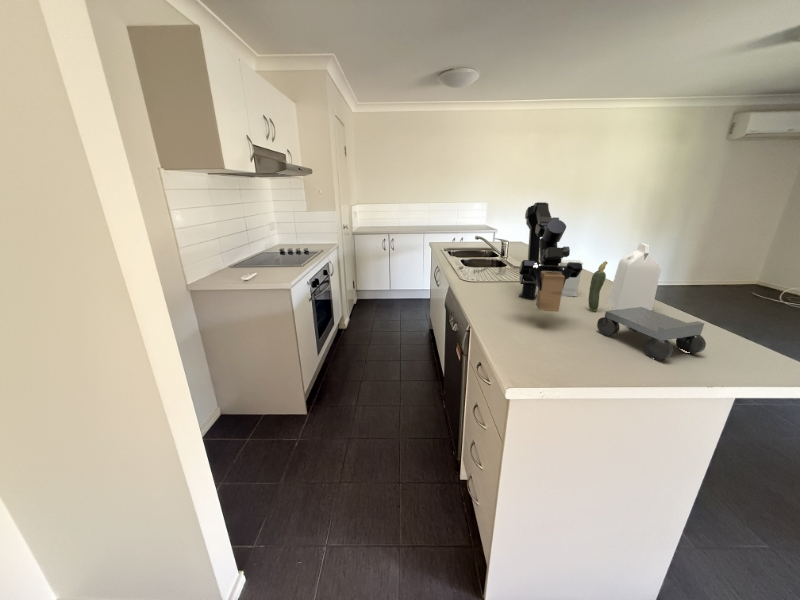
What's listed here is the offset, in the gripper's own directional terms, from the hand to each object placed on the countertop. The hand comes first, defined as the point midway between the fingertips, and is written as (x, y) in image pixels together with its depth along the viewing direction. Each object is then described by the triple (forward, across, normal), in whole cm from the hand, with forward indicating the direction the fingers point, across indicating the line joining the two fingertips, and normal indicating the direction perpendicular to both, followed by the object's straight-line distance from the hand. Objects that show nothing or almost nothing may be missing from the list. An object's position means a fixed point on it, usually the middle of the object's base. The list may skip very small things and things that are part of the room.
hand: (550, 290), depth 104 cm
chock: (+4, 0, +6) cm, 7 cm away
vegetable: (-6, +22, +26) cm, 34 cm away
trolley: (+13, +28, +6) cm, 32 cm away
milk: (-9, +37, +29) cm, 48 cm away
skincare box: (-20, +18, +40) cm, 48 cm away
